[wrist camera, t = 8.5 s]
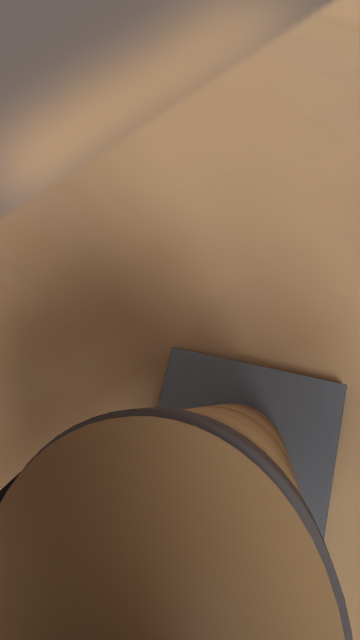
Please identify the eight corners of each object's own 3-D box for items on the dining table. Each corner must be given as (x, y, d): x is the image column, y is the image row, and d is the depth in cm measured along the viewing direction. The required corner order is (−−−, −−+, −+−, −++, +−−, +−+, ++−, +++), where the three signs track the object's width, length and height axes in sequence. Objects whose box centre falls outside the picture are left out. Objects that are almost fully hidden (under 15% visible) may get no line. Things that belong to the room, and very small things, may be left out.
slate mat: (314, 581, 15) (316, 588, 14) (135, 513, 18) (131, 516, 17) (344, 385, 16) (346, 384, 16) (175, 348, 19) (172, 347, 18)
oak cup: (252, 538, 15) (187, 1082, 3) (164, 466, 17) (-97, 637, 5) (310, 442, 16) (456, 600, 3) (218, 381, 17) (97, 342, 5)
